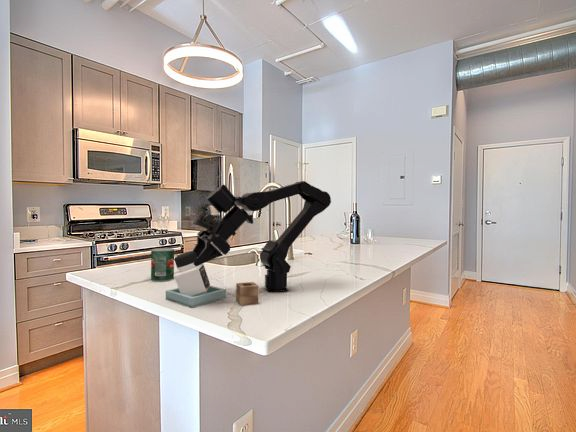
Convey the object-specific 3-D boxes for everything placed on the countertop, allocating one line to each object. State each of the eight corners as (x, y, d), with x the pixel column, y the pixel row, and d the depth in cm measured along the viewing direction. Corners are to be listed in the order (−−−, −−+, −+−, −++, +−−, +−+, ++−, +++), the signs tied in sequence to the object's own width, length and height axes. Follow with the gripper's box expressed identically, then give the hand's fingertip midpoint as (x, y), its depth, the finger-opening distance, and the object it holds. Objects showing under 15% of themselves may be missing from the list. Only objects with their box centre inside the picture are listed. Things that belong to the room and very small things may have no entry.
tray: (199, 290, 99) (200, 283, 99) (226, 297, 92) (226, 289, 91) (165, 299, 89) (165, 290, 89) (191, 307, 82) (192, 298, 82)
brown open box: (252, 298, 91) (253, 281, 91) (258, 303, 86) (258, 285, 86) (236, 300, 89) (236, 283, 89) (240, 305, 84) (240, 287, 84)
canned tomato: (148, 278, 114) (148, 248, 114) (170, 276, 119) (170, 247, 119) (153, 282, 108) (154, 251, 107) (176, 280, 112) (177, 249, 112)
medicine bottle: (206, 291, 87) (193, 251, 87) (182, 299, 87) (168, 259, 86) (210, 285, 94) (198, 247, 94) (187, 292, 94) (175, 255, 93)
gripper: (204, 204, 100) (167, 239, 95) (219, 204, 83) (175, 247, 78) (228, 228, 103) (193, 264, 99) (246, 233, 87) (206, 275, 82)
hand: (191, 262), depth 89 cm, fingers open, 9 cm apart
